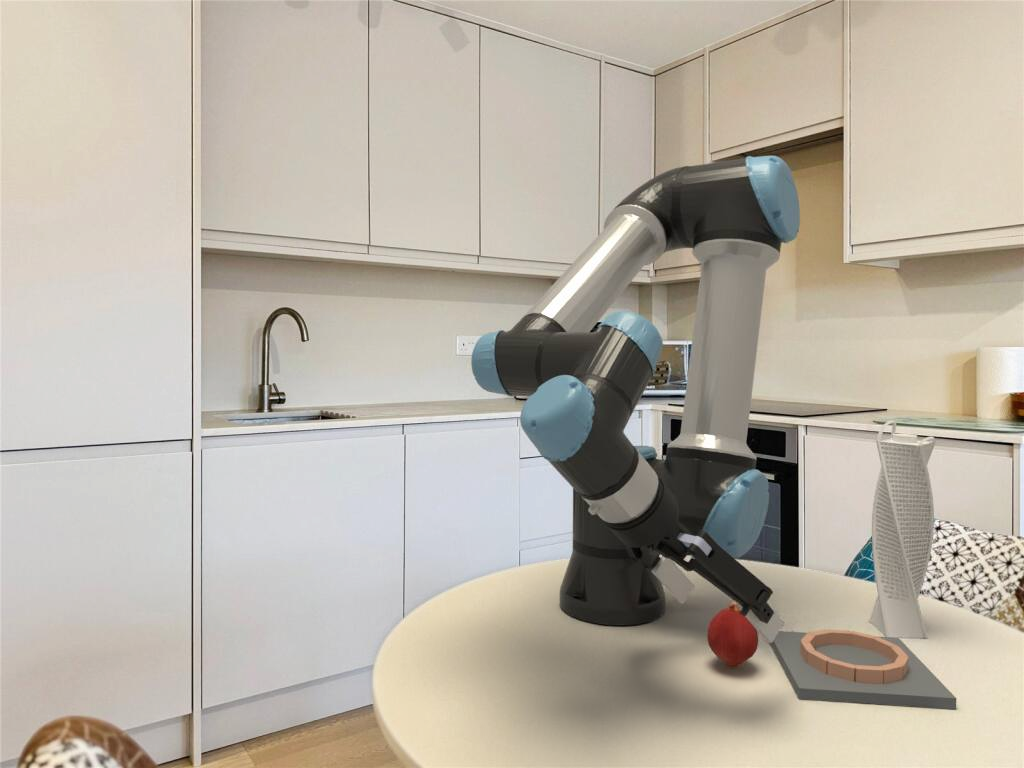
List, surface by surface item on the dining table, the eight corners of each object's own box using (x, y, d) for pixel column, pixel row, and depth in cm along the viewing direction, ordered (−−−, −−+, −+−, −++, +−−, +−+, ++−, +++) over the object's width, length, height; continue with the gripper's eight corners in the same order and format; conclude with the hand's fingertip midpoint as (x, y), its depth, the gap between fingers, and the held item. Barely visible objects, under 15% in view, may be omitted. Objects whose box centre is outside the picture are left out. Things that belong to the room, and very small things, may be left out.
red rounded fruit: (699, 657, 92) (701, 593, 91) (745, 656, 92) (747, 592, 92) (716, 679, 86) (718, 611, 85) (765, 677, 86) (767, 609, 86)
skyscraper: (856, 617, 105) (863, 418, 103) (910, 618, 105) (919, 419, 103) (881, 640, 97) (891, 426, 95) (940, 642, 97) (950, 426, 95)
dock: (798, 698, 81) (799, 674, 81) (767, 639, 97) (768, 619, 97) (955, 709, 79) (957, 684, 79) (898, 646, 95) (898, 626, 95)
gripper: (544, 502, 88) (640, 604, 97) (696, 557, 67) (801, 682, 76) (581, 454, 91) (671, 558, 99) (739, 492, 69) (837, 620, 78)
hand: (728, 611), depth 88 cm, fingers open, 13 cm apart
